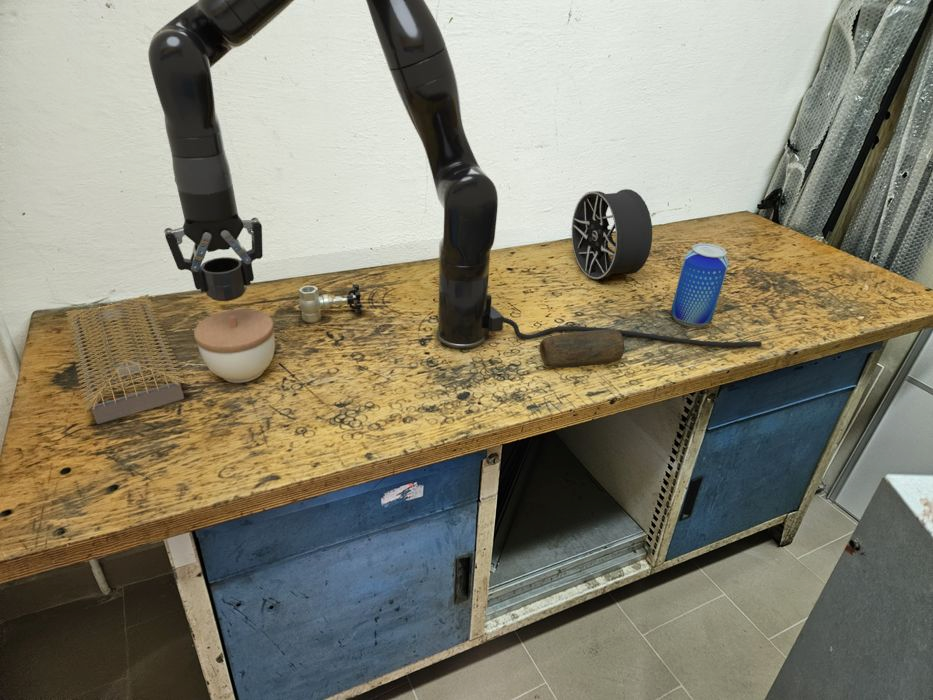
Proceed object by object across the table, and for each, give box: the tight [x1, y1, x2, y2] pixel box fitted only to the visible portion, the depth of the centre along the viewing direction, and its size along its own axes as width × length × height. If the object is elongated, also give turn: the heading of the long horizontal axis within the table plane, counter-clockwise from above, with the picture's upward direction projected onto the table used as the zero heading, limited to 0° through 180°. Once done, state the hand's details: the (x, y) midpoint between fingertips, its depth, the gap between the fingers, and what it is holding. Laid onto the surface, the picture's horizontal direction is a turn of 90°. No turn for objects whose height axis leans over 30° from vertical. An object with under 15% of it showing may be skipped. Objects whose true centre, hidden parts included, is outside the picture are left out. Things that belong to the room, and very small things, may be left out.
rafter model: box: [65, 294, 188, 425], centre depth 103 cm, size 35×14×6 cm, turn 33°
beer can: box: [670, 242, 730, 329], centre depth 121 cm, size 8×8×16 cm
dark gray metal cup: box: [200, 256, 248, 302], centre depth 94 cm, size 6×6×5 cm
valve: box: [298, 283, 363, 323], centre depth 119 cm, size 7×7×12 cm
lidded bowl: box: [193, 308, 276, 384], centre depth 101 cm, size 13×13×11 cm
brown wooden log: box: [539, 328, 625, 369], centre depth 108 cm, size 15×7×7 cm, turn 105°
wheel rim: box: [571, 188, 653, 280], centre depth 138 cm, size 20×9×20 cm, turn 20°
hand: (225, 286), depth 95 cm, fingers closed on dark gray metal cup, 6 cm apart
